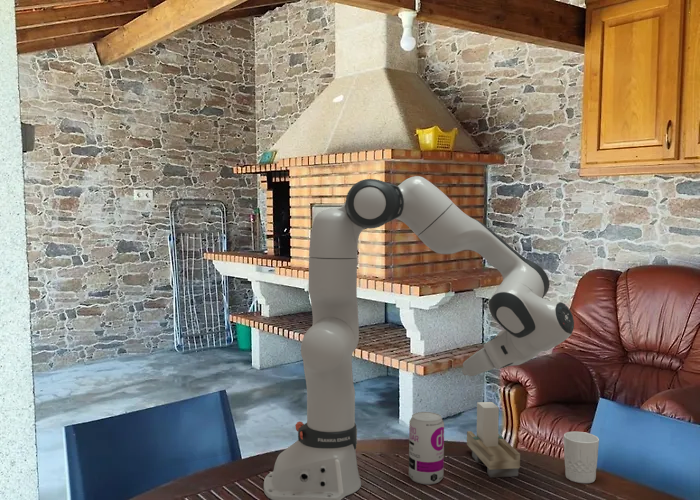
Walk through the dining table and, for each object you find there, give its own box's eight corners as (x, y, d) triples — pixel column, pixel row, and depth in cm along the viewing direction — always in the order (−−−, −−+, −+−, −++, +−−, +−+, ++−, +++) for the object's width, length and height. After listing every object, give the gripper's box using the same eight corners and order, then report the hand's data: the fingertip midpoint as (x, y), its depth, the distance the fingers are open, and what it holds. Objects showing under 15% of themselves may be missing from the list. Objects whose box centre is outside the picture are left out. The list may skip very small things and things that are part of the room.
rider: (483, 446, 159) (483, 408, 158) (476, 440, 164) (477, 402, 163) (498, 446, 159) (498, 407, 159) (491, 439, 164) (491, 401, 164)
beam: (489, 477, 149) (489, 454, 149) (466, 451, 166) (466, 430, 166) (519, 476, 150) (520, 453, 150) (494, 450, 167) (494, 429, 167)
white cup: (600, 486, 145) (601, 443, 145) (565, 483, 147) (566, 441, 146) (594, 472, 153) (595, 432, 152) (560, 470, 154) (561, 430, 154)
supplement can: (450, 478, 149) (451, 416, 148) (429, 488, 143) (430, 424, 142) (422, 468, 155) (423, 409, 154) (401, 478, 149) (402, 416, 148)
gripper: (532, 323, 154) (494, 344, 164) (483, 344, 141) (444, 366, 150) (545, 346, 152) (506, 366, 162) (497, 369, 139) (457, 390, 149)
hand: (476, 366), depth 156 cm, fingers open, 8 cm apart
